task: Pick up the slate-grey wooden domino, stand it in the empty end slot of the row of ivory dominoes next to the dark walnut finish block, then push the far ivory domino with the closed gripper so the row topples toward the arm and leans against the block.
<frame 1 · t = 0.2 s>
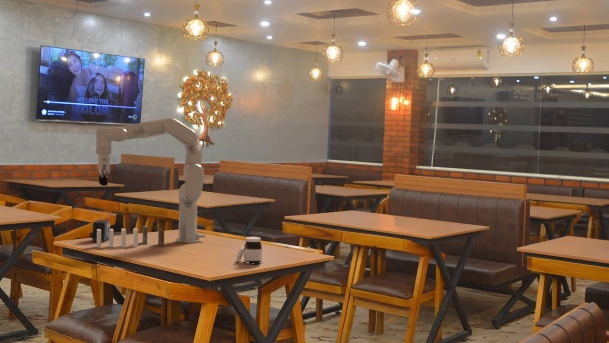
hand: (103, 184, 368), 31 cm above the table, fingers open, 9 cm apart
domino 3: (123, 246, 364), on the table
domino 2: (111, 246, 361), on the table
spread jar: (248, 263, 331), on the table
domino 1: (98, 247, 359), on the table
finish block: (161, 245, 371), on the table
end domino: (144, 243, 375), on the table
small box: (101, 241, 379), on the table
domino 4: (135, 246, 366), on the table
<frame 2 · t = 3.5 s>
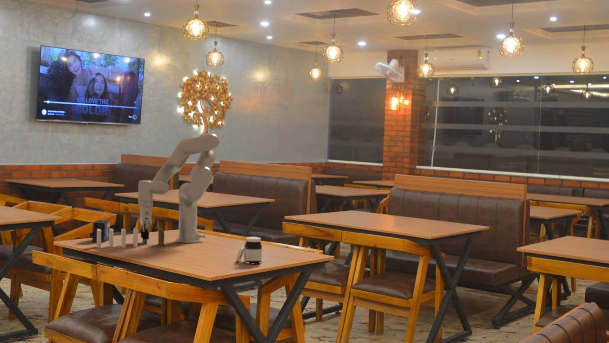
hand: (144, 238, 375), 3 cm above the table, fingers closed on end domino, 5 cm apart
end domino: (144, 243, 375), on the table, touching gripper
everything else where it was.
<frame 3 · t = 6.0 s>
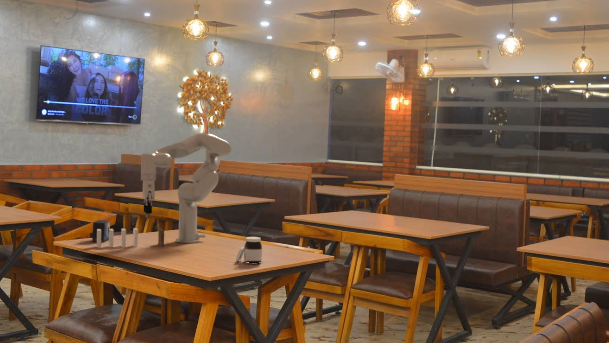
hand: (147, 212, 367), 17 cm above the table, fingers closed on end domino, 5 cm apart
end domino: (147, 217, 367), point 15 cm above the table, touching gripper
everything else where it was.
when the fingers open (4 cm above the table, at t = 8.9 s): end domino stays where it is, on the table.
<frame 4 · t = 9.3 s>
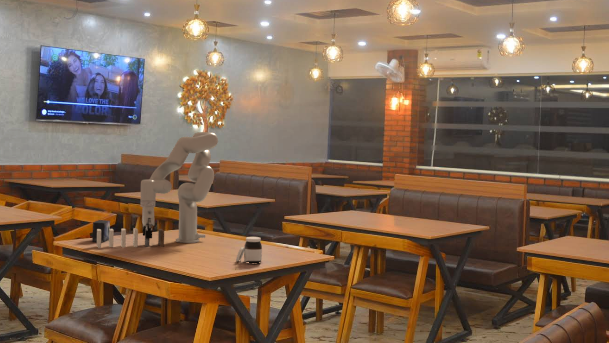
hand: (147, 236, 368), 5 cm above the table, fingers open, 9 cm apart
end domino: (147, 245, 368), on the table
everything else where it was.
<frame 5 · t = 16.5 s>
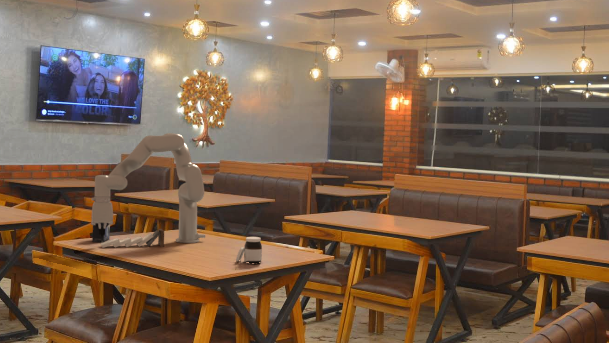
hand: (101, 236, 359), 6 cm above the table, fingers closed
domino 3: (125, 245, 364), point 1 cm above the table, tilted 68°, touching domino 2
domino 2: (113, 245, 362), point 1 cm above the table, tilted 72°, touching domino 1, domino 3
domino 1: (101, 245, 360), point 1 cm above the table, tilted 73°, touching domino 2
end domino: (147, 244, 368), on the table, tilted 40°, touching domino 4, finish block
domino 4: (137, 244, 366), point 1 cm above the table, tilted 55°, touching end domino
everything else where it was.
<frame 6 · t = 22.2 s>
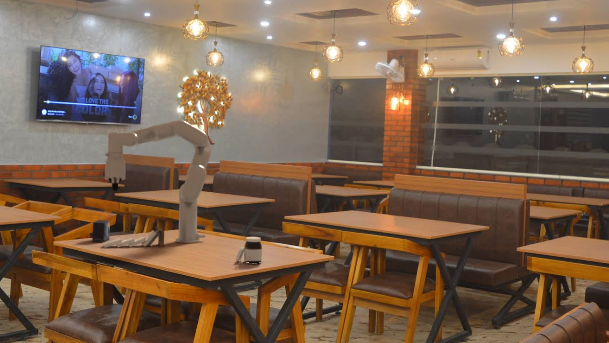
hand: (114, 190, 374), 27 cm above the table, fingers closed
domino 3: (128, 245, 364), point 1 cm above the table, tilted 70°, touching domino 2, domino 4
domino 2: (116, 245, 362), point 1 cm above the table, tilted 73°, touching domino 1, domino 3
domino 1: (103, 245, 360), point 1 cm above the table, tilted 74°, touching domino 2
domino 4: (143, 245, 367), on the table, tilted 40°, touching domino 3, end domino
everything else where it was.
at the end: end domino tilted 39°; domino 4 tilted 39°; end domino inside the target area (0.1 cm from its centre), point 0.5 cm above the table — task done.
